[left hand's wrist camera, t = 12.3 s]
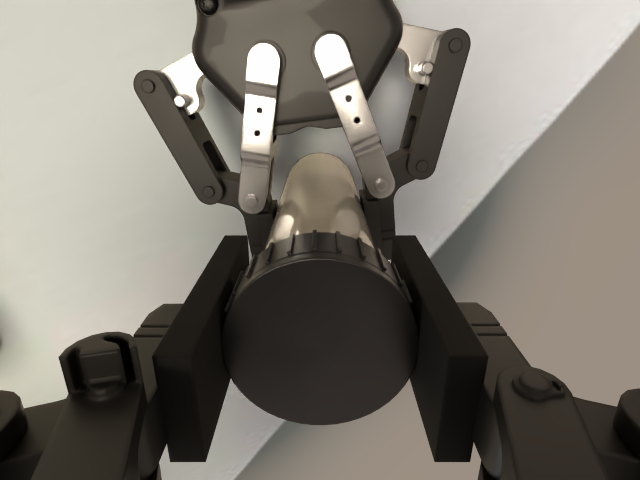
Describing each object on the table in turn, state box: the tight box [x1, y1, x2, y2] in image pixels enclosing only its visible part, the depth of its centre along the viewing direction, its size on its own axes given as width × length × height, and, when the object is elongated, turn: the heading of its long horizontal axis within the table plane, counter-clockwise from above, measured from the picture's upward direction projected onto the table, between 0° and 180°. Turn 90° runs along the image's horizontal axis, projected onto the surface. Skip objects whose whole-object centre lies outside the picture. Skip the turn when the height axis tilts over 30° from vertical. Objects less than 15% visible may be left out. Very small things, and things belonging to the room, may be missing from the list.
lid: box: [221, 230, 419, 425], centre depth 11 cm, size 5×5×2 cm
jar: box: [264, 153, 376, 250], centre depth 18 cm, size 4×4×16 cm
